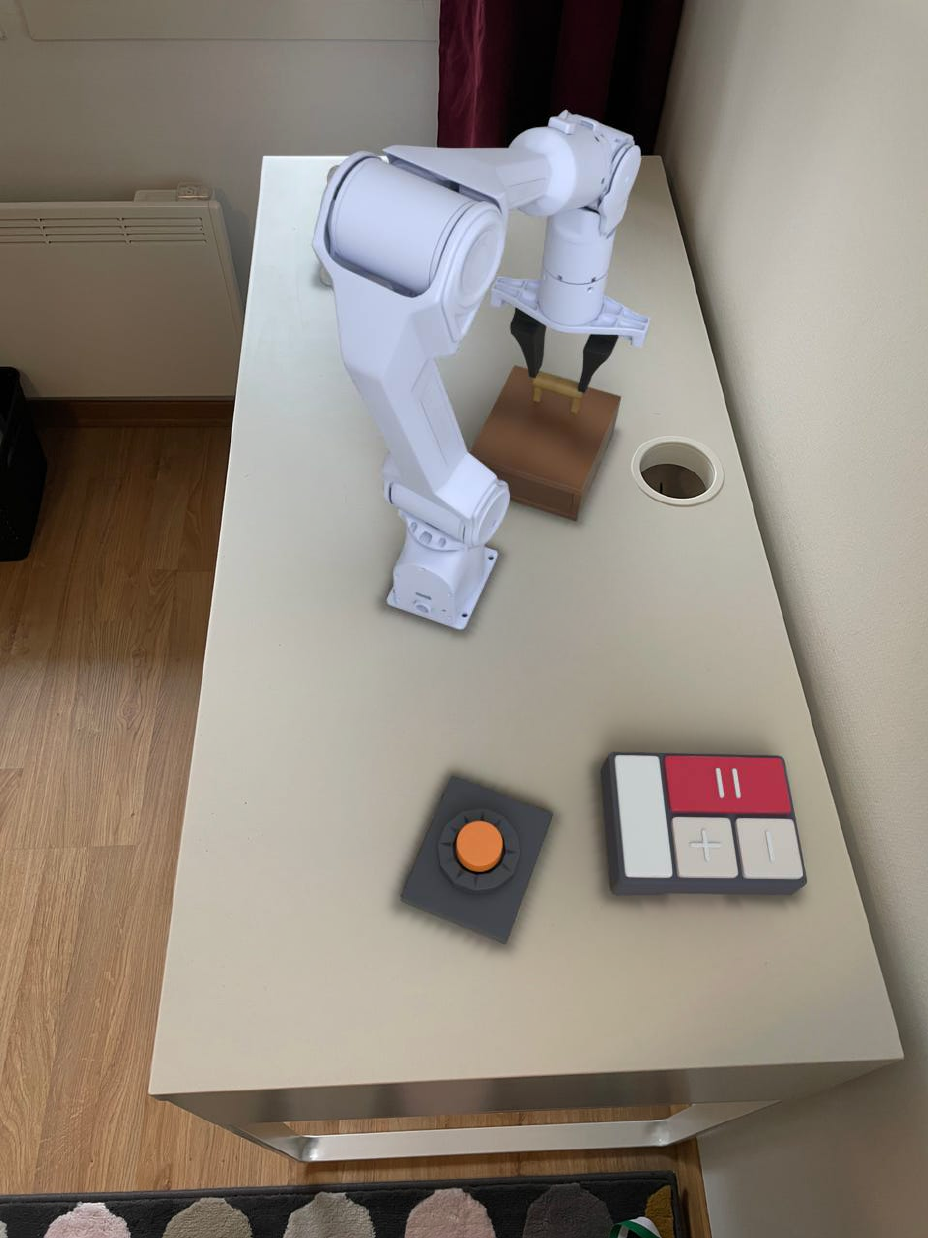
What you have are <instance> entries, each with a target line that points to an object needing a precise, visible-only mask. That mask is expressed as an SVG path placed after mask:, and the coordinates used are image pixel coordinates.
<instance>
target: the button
mask: <svg viewBox="0 0 928 1238" xmlns="http://www.w3.org/2000/svg"><path fill="white" fill-rule="evenodd" d="M502 845H503V842H502V837H501V834H500V832H499V831H498V830H497V828H496V827H494V826H493V825H492V824H490V823H488V822H485V821H474V822H471V823H469V824H467V825H465V826H464V827H463V828H462V829H461V831H460V832H459V834H458V837H457V845H456V851H457V856H458V859H459V861H460V862H461V863H462V864H463V866H465V867H466V868H468V869H469V870H472V871H476V872H483V871H487V870H489V869H491V868H492V867H494V866H495V865H496V864H497V862H498V861H499V859H500V856H501V852H502Z"/></svg>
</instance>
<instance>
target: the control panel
mask: <svg viewBox="0 0 928 1238" xmlns="http://www.w3.org/2000/svg"><path fill="white" fill-rule="evenodd" d="M600 781H601V782H600V783H601V792H602V793H601V794H602V804H603V806H602V807H603V817H604V827H605V840H606V853H607V865H608V876H609V877H608V878H609V888H610V891H611V893H612V894H613V895H616V896H619V895H620V896H661V895H669V894H679V895H680V894H683V895H685V894H686V895H687V894H689V895H690V894H691V895H692V894H693V895H756V896H757V895H758V896H759V895H761V896H762V895H764V896H766V895H767V896H768V895H769V896H770V895H771V896H791V895H794V894H795V893H797V892H798V891H800V890H801V889H802V888H803V887H805V886H806V885H807V883H808V877H807V871H806V867H805V861H804V856H803V851H802V846H801V839H800V834H799V829H798V824H797V819H796V814H795V809H794V802H793V797H792V793H791V787H790V782H789V776H788V772H787V765H786V761H785V759H784V757H783V756H781V755H778V754H777V755H776V754H736V753H734V754H732V753H728V754H727V753H691V752H689V753H688V752H687V753H684V752H683V753H681V752H645V751H644V752H643V751H642V752H641V751H611V752H609V754H607V757H606V759H605V761H604V762H603V764H602V767H601V769H600Z"/></svg>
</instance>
